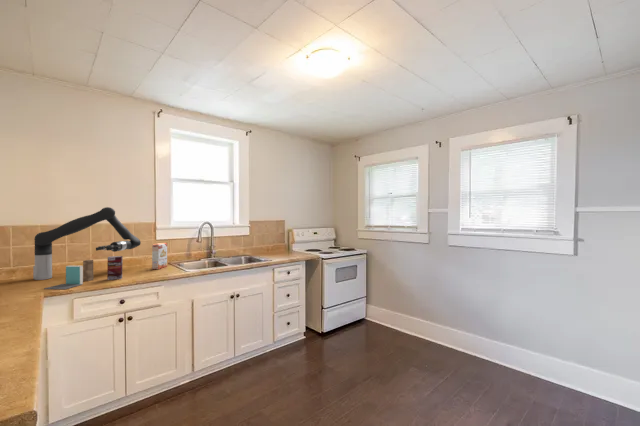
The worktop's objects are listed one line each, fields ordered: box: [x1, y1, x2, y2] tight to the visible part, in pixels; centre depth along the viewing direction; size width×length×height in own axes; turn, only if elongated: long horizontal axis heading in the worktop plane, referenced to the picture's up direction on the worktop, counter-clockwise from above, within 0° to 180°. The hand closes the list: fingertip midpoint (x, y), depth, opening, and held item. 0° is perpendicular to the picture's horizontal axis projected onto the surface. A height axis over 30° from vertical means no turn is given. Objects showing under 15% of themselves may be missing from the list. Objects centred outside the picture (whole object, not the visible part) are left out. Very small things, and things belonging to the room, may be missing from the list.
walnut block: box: [82, 259, 94, 282], centre depth 210 cm, size 4×4×14 cm
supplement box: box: [106, 255, 123, 281], centre depth 215 cm, size 9×5×16 cm, turn 117°
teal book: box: [65, 265, 84, 285], centre depth 199 cm, size 10×2×12 cm, turn 85°
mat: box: [44, 283, 83, 290], centre depth 192 cm, size 14×12×1 cm
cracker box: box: [151, 242, 168, 270], centre depth 257 cm, size 14×6×21 cm, turn 179°
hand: (101, 249), depth 221 cm, fingers open, 8 cm apart
